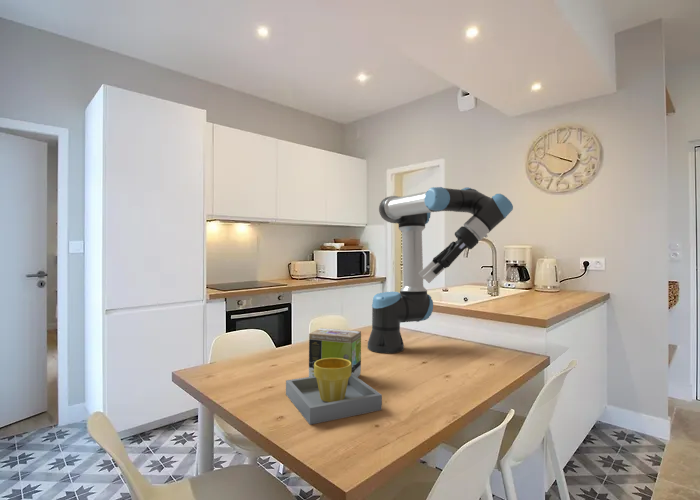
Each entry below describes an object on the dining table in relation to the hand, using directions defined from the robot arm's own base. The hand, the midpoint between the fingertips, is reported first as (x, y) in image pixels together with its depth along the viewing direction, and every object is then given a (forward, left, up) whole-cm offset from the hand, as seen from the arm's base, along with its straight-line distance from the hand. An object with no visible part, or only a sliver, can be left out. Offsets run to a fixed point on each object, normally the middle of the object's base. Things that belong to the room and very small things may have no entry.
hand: (423, 278), depth 124 cm
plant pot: (+6, -35, -32) cm, 48 cm away
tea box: (-12, -26, -33) cm, 44 cm away
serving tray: (+6, -35, -33) cm, 48 cm away
